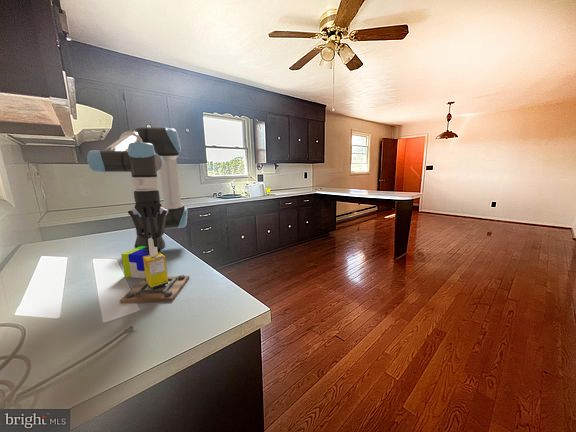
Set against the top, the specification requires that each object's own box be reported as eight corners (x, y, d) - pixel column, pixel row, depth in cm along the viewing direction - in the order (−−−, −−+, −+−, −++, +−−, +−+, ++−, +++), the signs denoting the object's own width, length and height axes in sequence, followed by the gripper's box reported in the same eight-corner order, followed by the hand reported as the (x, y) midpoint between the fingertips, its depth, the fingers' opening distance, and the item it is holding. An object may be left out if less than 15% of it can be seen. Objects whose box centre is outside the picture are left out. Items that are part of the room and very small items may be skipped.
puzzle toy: (145, 278, 98) (142, 255, 96) (124, 276, 100) (121, 253, 98) (162, 268, 107) (160, 247, 105) (143, 267, 109) (140, 246, 107)
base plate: (146, 279, 96) (145, 274, 96) (189, 278, 98) (188, 273, 97) (120, 303, 80) (119, 297, 79) (172, 301, 81) (171, 295, 80)
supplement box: (163, 278, 92) (160, 252, 90) (168, 284, 88) (165, 256, 86) (146, 284, 88) (142, 256, 86) (150, 289, 84) (147, 260, 82)
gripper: (119, 191, 77) (129, 259, 82) (161, 190, 78) (168, 258, 83) (132, 189, 84) (140, 252, 89) (170, 188, 85) (176, 251, 90)
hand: (154, 255), depth 86 cm, fingers closed
